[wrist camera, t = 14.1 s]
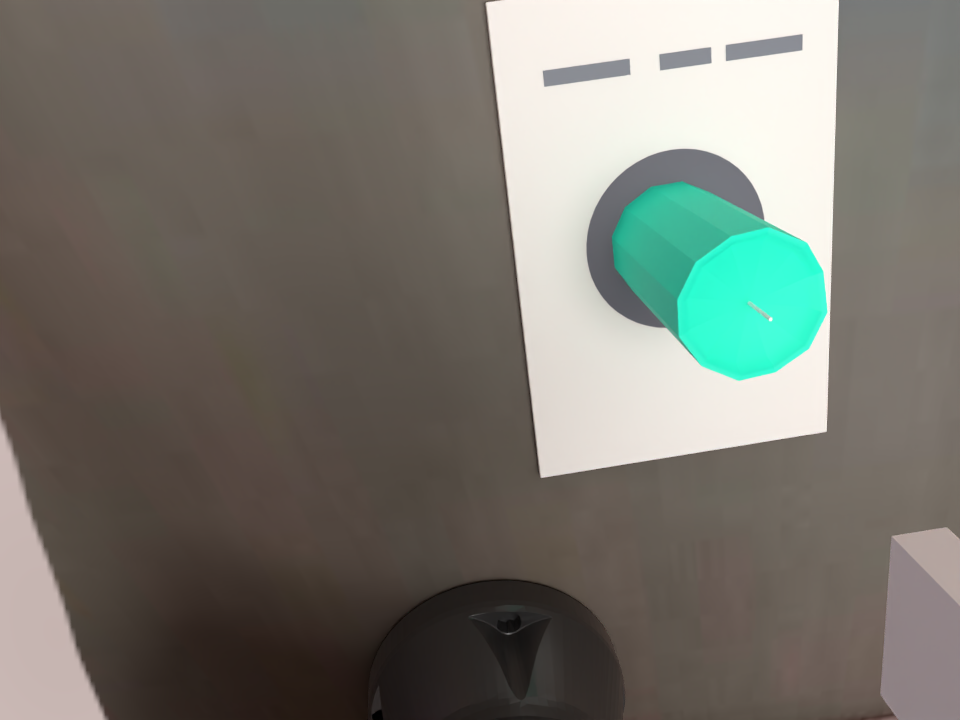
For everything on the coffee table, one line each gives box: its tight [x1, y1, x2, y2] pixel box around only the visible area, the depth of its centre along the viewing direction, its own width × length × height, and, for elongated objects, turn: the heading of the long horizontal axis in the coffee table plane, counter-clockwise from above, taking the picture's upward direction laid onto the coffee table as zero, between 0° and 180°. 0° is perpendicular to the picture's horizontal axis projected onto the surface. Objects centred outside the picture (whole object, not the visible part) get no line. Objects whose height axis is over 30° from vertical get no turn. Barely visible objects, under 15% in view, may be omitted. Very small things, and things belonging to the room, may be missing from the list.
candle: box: [612, 181, 828, 381], centre depth 37 cm, size 6×6×12 cm
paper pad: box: [485, 0, 839, 478], centre depth 42 cm, size 24×16×1 cm, turn 7°
